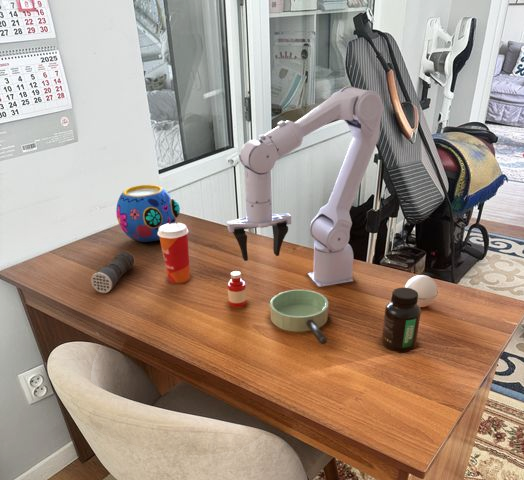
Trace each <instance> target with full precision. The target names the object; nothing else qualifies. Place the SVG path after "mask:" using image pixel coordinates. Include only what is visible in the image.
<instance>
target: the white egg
mask: <svg viewBox="0 0 524 480" xmlns="http://www.w3.org/2000/svg"><path fill="white" fill-rule="evenodd" d="M404 287H405V288H410V289H414V290H415V291H417V293H418V302H417V304H418V305H419V307H420V308H425V307H428V306H429V305H431V304H433V302H434V301H435V300H436V299H437V297H438V293H439V291H438V285H437V283H436V281H435V280H434V279H433V278H432V277H430V276H429V275H425V274H417V275H414V276H412V277H410V278H409V279H408V281H407V282H406V283H405V284H404ZM440 297H441V298H444V296H442V295H440ZM445 298H446V299H448V298H449V297H447V296H445Z"/></svg>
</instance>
